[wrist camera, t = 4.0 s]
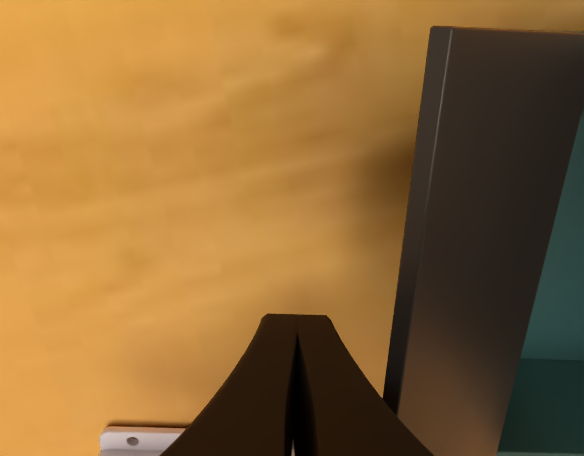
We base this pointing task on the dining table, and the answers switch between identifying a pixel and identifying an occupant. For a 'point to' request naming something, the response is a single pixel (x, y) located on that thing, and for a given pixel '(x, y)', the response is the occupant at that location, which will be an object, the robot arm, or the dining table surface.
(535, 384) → the storage box
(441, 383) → the lid
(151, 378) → the dining table surface
